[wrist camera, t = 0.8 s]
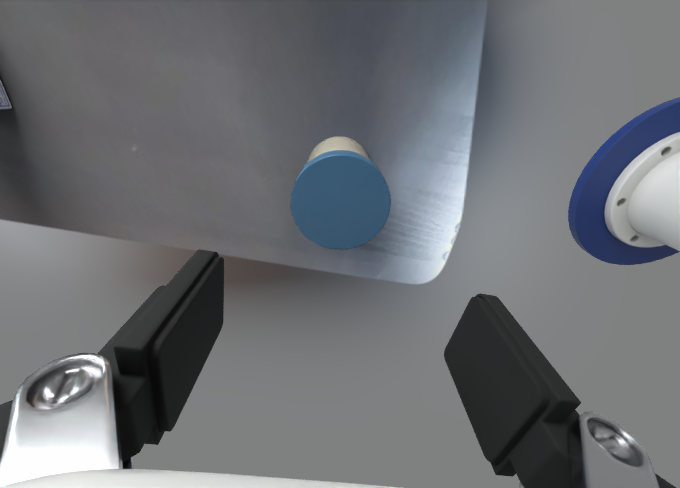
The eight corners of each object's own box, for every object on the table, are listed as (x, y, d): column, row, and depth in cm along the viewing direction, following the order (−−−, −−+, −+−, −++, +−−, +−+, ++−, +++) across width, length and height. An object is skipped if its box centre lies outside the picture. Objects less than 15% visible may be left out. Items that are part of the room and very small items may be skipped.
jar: (367, 131, 26) (382, 149, 18) (374, 195, 29) (389, 237, 21) (300, 142, 27) (284, 165, 18) (313, 205, 29) (305, 249, 21)
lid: (383, 142, 19) (387, 146, 17) (391, 232, 22) (395, 242, 20) (283, 158, 19) (279, 164, 18) (304, 244, 22) (302, 255, 21)
